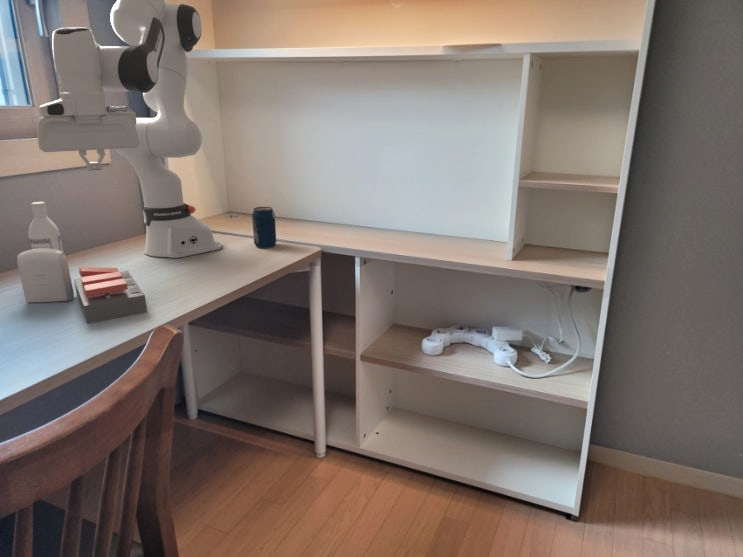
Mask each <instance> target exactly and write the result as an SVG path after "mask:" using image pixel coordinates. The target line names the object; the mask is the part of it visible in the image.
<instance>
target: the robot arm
mask: <svg viewBox="0 0 743 557" xmlns="http://www.w3.org/2000/svg"><path fill="white" fill-rule="evenodd" d="M110 11H111V12H110V23H111V26H112V29H113V31H114V32H115V34H116V35H117V36H118V37H119V38H120V39H121V40H122V41H123V42H124V43H126V44H127V45H128V46H101V45H100V44H99V43H97V42H96V39H95V36H94V34H93V31H92V29H91V28H89V27H85V26H68V27H67V26H64V27H58V28H56V29H55V30H54V31H53V32H52V38H51V39H52V40H51V42H52V55H53V56H52V58H53V64H54V69H55V73H56V75H57V78H58V81H59V88H58V93H59V99H57V100H55V99H54V100H51V101H50V102H48V103H45V104H44V103H43V104H41V105H39V106H38V113H39V114H40V115H41V116H42V117H40V118H39V119H38V121H37V126H36V127H37V128H36V130H37V131H36V132H37V144H38V149H39V150H40V151H42V152H43V153H59V152H60V153H61V152H74V151H75V152H78V155H79V157H80V158H81V160H83V162H84V163H85V166H86V171H87V172H91V171H92V172H93V171H94V172H95V171H102V169H103V166H102V162H103V160H104V158H105V155H106V153H105V152H106V151H105V150H114V151H115V152H117V153H118V154H120V155H121V156H122V157H123V158H125V160H126V161H127V162H128V163H129V164H130V166H131V167H132V168H133V169H134V171H135V173H136V175H137V177H138V180H139V181H138V182H139V185H140V190H141V194H142V200H143V205H142V216H143V222H144V225H145V235H146V236H145V246H144V251H143V253H144V254H145V255H146V256H151V257H159V258H171V259H180V258H184V257H188V256H193V255H198V254H202V253H203V254H204V253H207V252H212V251H216V250H217V251H218V250H221V249H222V246H223V245H222V241H220V240H218V239H217V238H215V237H214V234H213V232H212V230H211V227H209V225H208V224H206V223H205V222H203V221H201V220H200V219H199V218H197V217H196V216H193V215H192V214H194V213H195V212H196V210H197V209H196V207H195V206H193V205H189V204H187V203H185V202H184V196H183V187H182V180H181V178H180V177H179V175H178V174H177V173H176V172H174V171H172V170H171V169H168V168H167V167H166V166H165V164H164V163H163V161H162V159H161V158H164V159H165V158H168V159H171V158H175V159H176V158H178V159H180V158H186V157H190V156H194V155H196V154H198V152H199V150H200V148H201V145H202V142H203V140H202V138H203V137H202V132H201V130H200V128H199V126H198V125H197V124H196V123H195V122H194V121H193V120H192V119H190V117H189V116H188V115H187V113H186V111H185V94H186V88H187V82H188V58H187V57H188V56H187V54H186V53H189V52H190V53H191V51H192V50H193V48H194V47H195V46H196V45H197V44H198V42H199V41H200V39H201V37H202V28H203V27H202V20H201V16H200V14H199V13H198V10H197V9H196V8H195V7H193V6H191V5H188V4H184V3H181V4H176V3H169V2H168V3H167V2H166V1H165V0H116V2H115V3H114V4H113V6H112V8H111V10H110ZM105 92H131V93H140V94H141V93H142V96H143V97H142V98H143V100H144V103H145V104H146V105H147V107H148V108H150V109H151V110H152V111H154V112H155V113H157V115H156V116H155V117H137V114H136V112H135V111H134V110H133V108H129V106H107V101H106V94H105ZM88 151H96V154H97V155H99V156H98V157H97V159H96V161H89V160H88V159H87V158H86V156H88V154H87V152H88Z"/></svg>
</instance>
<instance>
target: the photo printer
mask: <svg viewBox="0 0 743 557" xmlns="http://www.w3.org/2000/svg"><path fill="white" fill-rule="evenodd" d="M16 263H17V268H18V272H19V277H20V281H21V286H22V289H23V293H24V294H23V295H24V299H25V302H26V303H46V302H47V303H48V302H49V303H51V302H68V301H71V300H73V299H74V298H75V293H74V289H73V282H72V278H71V274H70V272H71V271H70V268H69V263H68V258H67V255H66V253H65V252H64V251H63V252H62V251H59V250H54V249H45V248H41V249H32V250H31V249H27V250H25V251H22V252H21V253H19V254H17V257H16Z"/></svg>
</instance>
